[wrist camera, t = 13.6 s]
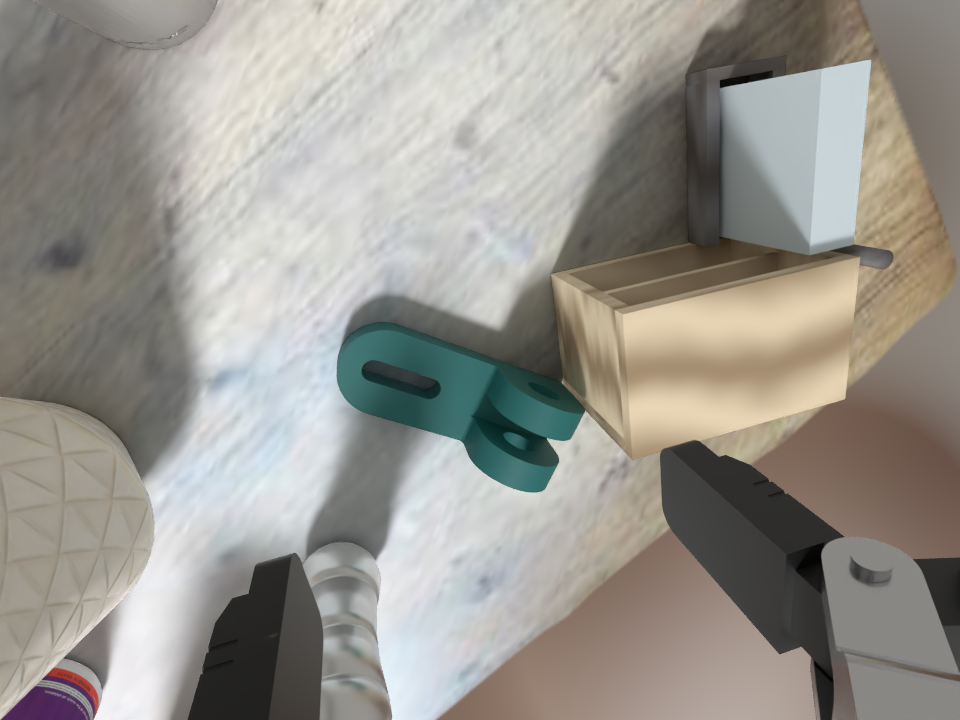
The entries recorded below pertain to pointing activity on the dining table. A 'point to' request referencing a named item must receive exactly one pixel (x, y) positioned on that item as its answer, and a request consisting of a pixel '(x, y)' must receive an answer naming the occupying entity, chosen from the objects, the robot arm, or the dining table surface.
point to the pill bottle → (61, 695)
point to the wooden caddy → (707, 315)
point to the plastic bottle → (348, 632)
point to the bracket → (463, 401)
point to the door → (793, 158)
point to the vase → (62, 535)
